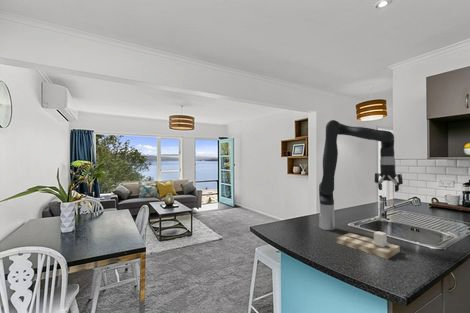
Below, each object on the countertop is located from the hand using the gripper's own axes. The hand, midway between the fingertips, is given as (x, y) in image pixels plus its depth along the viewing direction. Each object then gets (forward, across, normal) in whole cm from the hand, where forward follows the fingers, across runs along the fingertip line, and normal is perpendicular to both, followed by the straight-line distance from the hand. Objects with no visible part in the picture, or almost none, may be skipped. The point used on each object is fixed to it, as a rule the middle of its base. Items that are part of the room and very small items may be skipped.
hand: (388, 190), depth 134 cm
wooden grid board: (+28, -1, -25) cm, 38 cm away
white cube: (+25, +6, -25) cm, 36 cm away
